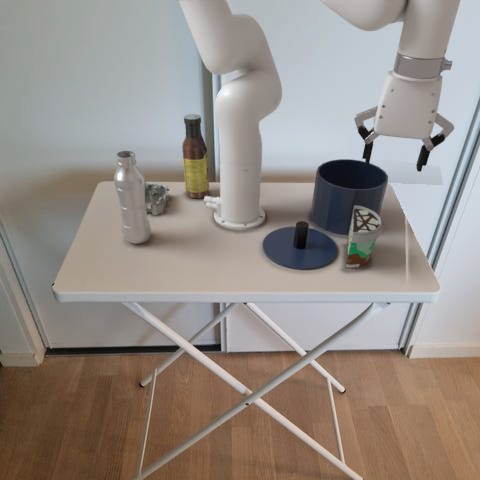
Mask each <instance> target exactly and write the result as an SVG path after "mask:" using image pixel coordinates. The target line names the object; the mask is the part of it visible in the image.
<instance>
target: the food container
mask: <svg viewBox="0 0 480 480" xmlns="http://www.w3.org/2000/svg"><path fill="white" fill-rule="evenodd" d="M381 218H382V217H381V216H380V214H379V215H378V214H377V213H375V212H374V211H372V210H370V209H368V208H365V207H362V206H357V205H354V209H353V215H352V220H351V225H350V230H349V235H347V239H346V257H345V267H344V268H345V269H348V270H349V269H350V270H351V269H352V270H353V269H359V268H363V267H365V266H366V265H367V264H368V263H369V261H370V258H371V254H372V253H373V250H374V246H375V244H376V240H377V239H378V238H380V236H381V235H382V233H383V222H382V219H381Z"/></svg>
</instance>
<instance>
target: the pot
mask: <svg viewBox="0 0 480 480" xmlns="http://www.w3.org/2000/svg"><path fill="white" fill-rule="evenodd" d="M388 182H389V175H388V174H387V172H386V171H385V170H384V169H382V168H381V167H379V165H376V164H373V163H370V162H369V165H368V166H367V165H365V161H363V160H358V159H352V158H351V159H349V158H347V159H346V158H345V159H343V158H341V159H340V158H339V159H331V160H329V161H326V162H322V163H321V164H320V165H319V166H318V167H317V170H316V173H315V181H314V187H313V188H314V189H313V196H312V202H311V208H310V218H311V221H312V222H313V224H314V225H315V226H316V227H318V228H320V229H321V230H323V231H325V232H328V233H331V234H335V235H338V236H339V235H340V236H347V237H348V235H349V230H350V225H351V220H352V215H353V209H354V205H357V206H362V207H365V208H368V209H370V210H372V211H374V212H375V213H377V214H378V215H379V216H380V215H381V210H382V206H383V202H384V198H385V195H386V190H387V187H388Z"/></svg>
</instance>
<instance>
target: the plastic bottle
mask: <svg viewBox="0 0 480 480" xmlns="http://www.w3.org/2000/svg"><path fill="white" fill-rule="evenodd" d="M116 164H117V166H118V167H117V168H116V170H115V172H114V174H113V183H114V187H115V190H116V193H117V196H118V200H119V201H118V202H119V205H120V210H121V212H120V213H121V233H122V236H123V238H124V239H125V241H127V242H128V243H131V244H142V243H146V242H147V241H149V239H150V238H151V235H152V226H151V223H150V220H149V216H148V212H147V211H146V205H145V183H146V177H145V174H144V172H143V171H142V170H141V169H140V168H139V166H137V159H136V154H135V152H134V151H131V150H120V151H118V152H116Z"/></svg>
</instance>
